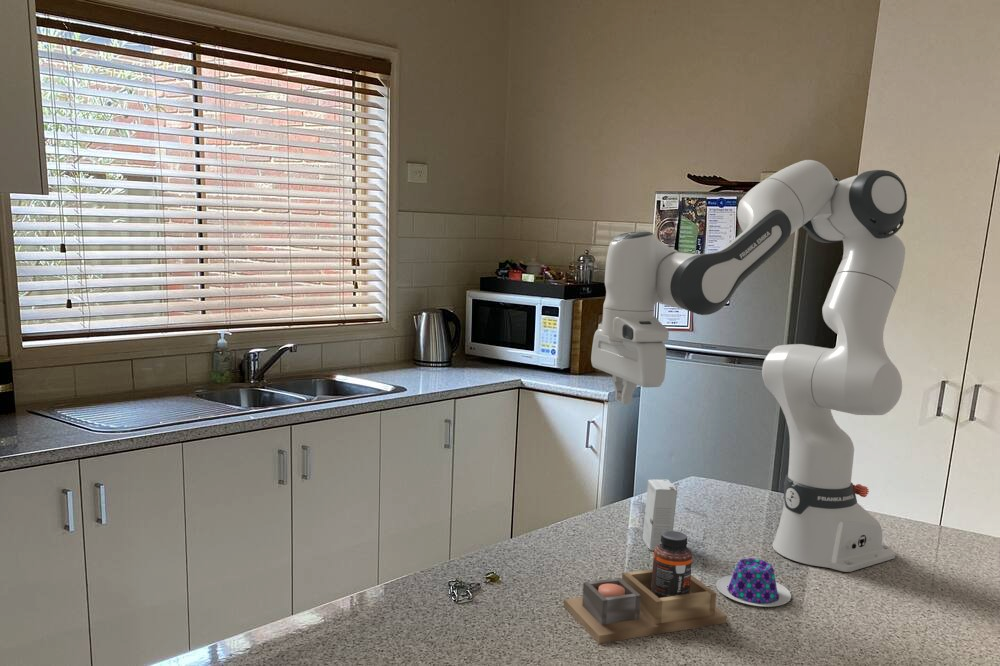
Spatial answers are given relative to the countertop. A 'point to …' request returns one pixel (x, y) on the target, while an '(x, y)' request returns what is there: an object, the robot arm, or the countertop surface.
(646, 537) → the skincare box
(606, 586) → the button
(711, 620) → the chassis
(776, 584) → the pudding
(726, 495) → the countertop surface
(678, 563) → the supplement bottle
